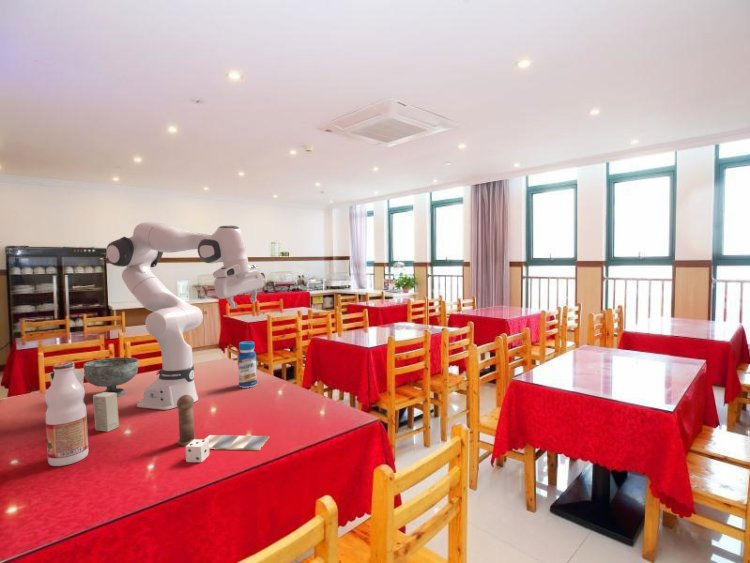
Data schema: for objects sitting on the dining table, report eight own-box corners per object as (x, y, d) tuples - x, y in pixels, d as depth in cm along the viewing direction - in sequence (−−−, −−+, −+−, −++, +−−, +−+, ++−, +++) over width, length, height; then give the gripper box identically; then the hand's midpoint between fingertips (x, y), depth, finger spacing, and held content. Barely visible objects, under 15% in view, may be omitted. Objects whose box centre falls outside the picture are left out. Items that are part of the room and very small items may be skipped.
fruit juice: (72, 467, 111) (67, 367, 110) (39, 467, 112) (33, 368, 110) (96, 451, 121) (91, 359, 120) (65, 451, 121) (60, 359, 120)
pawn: (174, 445, 123) (172, 397, 123) (183, 438, 129) (181, 392, 128) (190, 446, 123) (188, 398, 122) (199, 438, 128) (197, 392, 127)
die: (185, 462, 113) (184, 446, 112) (194, 454, 117) (194, 438, 117) (202, 463, 112) (201, 446, 112) (210, 454, 117) (209, 439, 117)
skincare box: (119, 427, 139) (117, 392, 138) (107, 432, 134) (105, 396, 134) (106, 425, 141) (104, 391, 140) (93, 430, 136) (92, 395, 136)
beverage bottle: (260, 382, 188) (259, 340, 187) (253, 388, 179) (251, 344, 178) (243, 382, 188) (241, 340, 187) (235, 388, 180) (233, 344, 179)
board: (194, 449, 121) (194, 447, 121) (209, 436, 130) (209, 434, 130) (259, 450, 119) (259, 448, 119) (269, 437, 128) (269, 435, 128)
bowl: (147, 391, 177) (146, 358, 177) (99, 405, 161) (97, 368, 160) (125, 385, 188) (123, 353, 187) (77, 397, 172) (75, 362, 171)
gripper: (252, 264, 159) (259, 298, 161) (208, 274, 142) (216, 312, 144) (263, 263, 156) (270, 298, 158) (220, 273, 138) (228, 311, 140)
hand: (244, 304), depth 150 cm, fingers open, 8 cm apart
